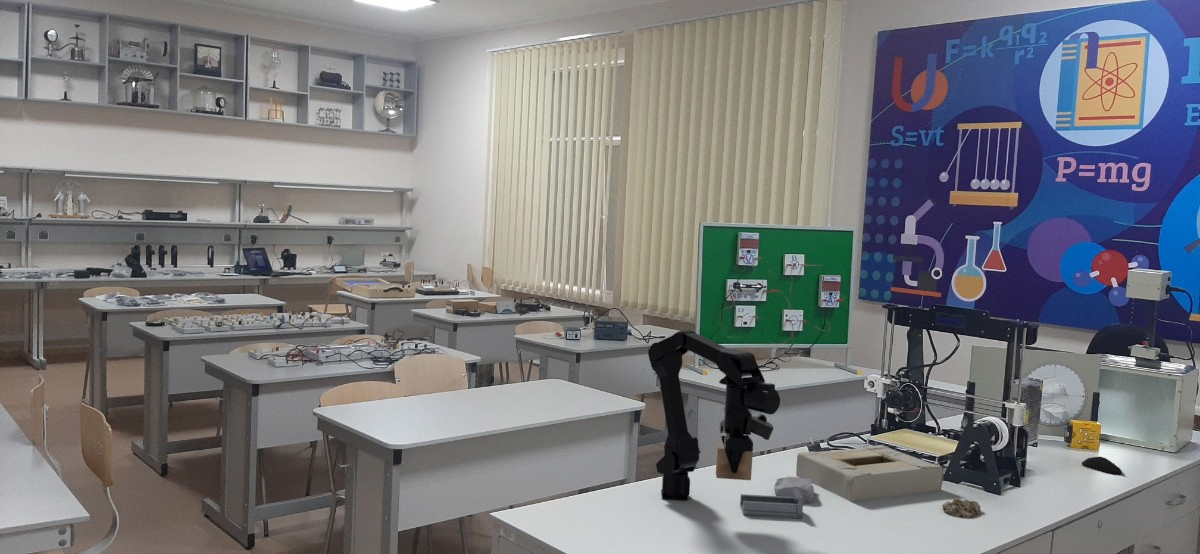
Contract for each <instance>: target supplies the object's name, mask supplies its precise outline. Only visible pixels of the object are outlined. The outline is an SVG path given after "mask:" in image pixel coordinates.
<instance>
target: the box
mask: <svg viewBox="0 0 1200 554" xmlns="http://www.w3.org/2000/svg"><path fill="white" fill-rule="evenodd" d="M796 457H797V458H796V469H795V470H796V472H795V473H796V474H795V475H796V476H795V477H798V478H803V479H811V480H812V485H815V486H817V487H819V488H821V489H824V490H826V491H827V492H830V493H832V494H834V495H837V496H838V497H840V498H842V499H845V500H847V501H849V502H858V501H863V500H864V501H865V500H871V499H873V500H874V499H880V498H888V497H889V498H890V497H896V496H897V497H898V496H904V495H905V496H907V495H914V494H920V493H921V494H922V493H928V492H929V493H930V492H936V491H942V488H943V482H944V481H943V480H944V467H943V466H941V465H938V464H934V463H931V462H928V461H926V460H923V459H920V458H917V457H915V456H912V455H909V454H908V453H904V452H901V451H898V450H895V449H892V448H890V447H888V446H886V445H883V444H881V445H880V444H877V445H873V446H872V445H871V446H868V445H867V446H863V447H859V448H849V449H837V450H826V451H825V450H824V451H806V452H798V453H797V456H796Z"/></svg>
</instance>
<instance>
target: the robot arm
mask: <svg viewBox="0 0 1200 554" xmlns="http://www.w3.org/2000/svg"><path fill="white" fill-rule="evenodd" d="M689 352H692V353H694V354H696V355H698V356H699V357H702V358H703V359H706V360H708V361H709V362H711V363H714V364H715V365H716V366H717V368H718V370H719V372H721V373H722V374H724V375H725V376H724V377H723V378H721V379H720V380H718V383H719V384H721V385H725V386H726V388H725V404H724V407H723V413H724V419H723V420H722V421H720V423H719V433H720V434H724V435H721V436H720V438H721V442H722V446H724V449H725V452H726V455H727V458H728V461H729V465H730V468H731V471H732V473H737V470H738V467H739V464H740V461H741V457H742V454H743V453H744V452H745V451H749V452H751V451H754V442H753V439H752V438H751V437H750V436H751V435H752V434H754V435H757V436H759V437H761V438H762V439H764V440H766V441H769V440H770V438H771V436H772V433H773V431H774V429H775V428H774V426H773V424H771V423H770V422H768V418H767V416H766V415H774V414H775V413H776V412H777V411H778V410H779V408H780V404H781V397H780V394H779V391H778V390H776V385H775V383H772V382H771V383H767V382H766V380H765V378H764V375H763V374H762V371H761V369H760V368H759V365H758V362H757V360H756V356H755V355H754V353H752V352H749V351H746V350H741V349H736V348H735V349H734V348H728V347H725V346H724V345H722V344H719V343H717V342H716V341H715V342H714V341H712V340H711V339H708V338H706V337H705V336H702V335H700V334H698V333H696V331H694V330H691V329H689V330H679V331H677V332H674V334H672V335H670V336H668V337H667V338H664V339H661V340H660V341H657V342H653V343H652V344H651V345H650V347H649V349H648V352H647V353H648V359H649V362H650V367H651V370H653V372H654V373H655V374H656V375H657V377H658V379H659V384H660V392H661V396H662V403H663V410H664V415H665V421H666V428H667V437H666V439H665V442H664V445H663V448H664V455H663V456H662V457H661V458H660V460H658V461H657V462H656V464H655V467H656V470H657V471H656V472H657V473H659V474H662V477H661V478H662V481H661V489H660V494H661V499H662V500H663V499H664V500H677V501H678V500H681V501H688V499H689V496H690V489H691V488H690V487H691V478H690V477H689V473H692V472H694V471H695V468H696V466H697V463H698V462H700V454H701V450H700V447H699V440H698V437H696V436H695V437H693V436H692V435H691V433H690V432H689V430H688V425H687V419H686V412H685V405H684V401H683V399H684V398H683V394H682V389H681V381H680V372H681V369H682V366H683V356H684V355H685V354H687V353H689ZM751 411H755V412H760V413H759V414H758V415H757V416H754V415H752V414H753V413H751ZM765 414H766V415H765ZM723 432H724V433H723Z"/></svg>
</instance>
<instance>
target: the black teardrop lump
mask: <svg viewBox="0 0 1200 554" xmlns="http://www.w3.org/2000/svg"><path fill="white" fill-rule="evenodd" d="M1081 466H1083V467H1084V468H1087V469H1090V470H1093V471H1098V472H1100V473H1103V474H1107V475H1113V476H1121V477H1125V478H1129V477H1128V476H1126V475H1125V474H1123V471H1122V469H1121V468H1120V467H1119V466H1118V465H1116V464H1115V463H1114V462H1112V461H1111V460H1109V459H1107V458H1106V457H1103V456H1091V457H1087V458H1085V459H1084V460H1083V461H1082V462H1081Z"/></svg>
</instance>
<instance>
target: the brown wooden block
mask: <svg viewBox="0 0 1200 554" xmlns="http://www.w3.org/2000/svg"><path fill="white" fill-rule="evenodd" d="M716 446H717V447H716V461H715V463H716V464H715V477H716V479H723V480H724V479H726V480H737V481H738V480H740V481H741V480H742V481H752V470H753V469H752V468H753V451H754V450H753V451H751V452H749V451H745V452H744V453H743V454H742V457H741V461H740V464H739V467H738V470H737V473H732V471H731V468H730V465H729V461H728V458H727V455H726V452H725V449H724V445H718V444H717V445H716Z"/></svg>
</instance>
